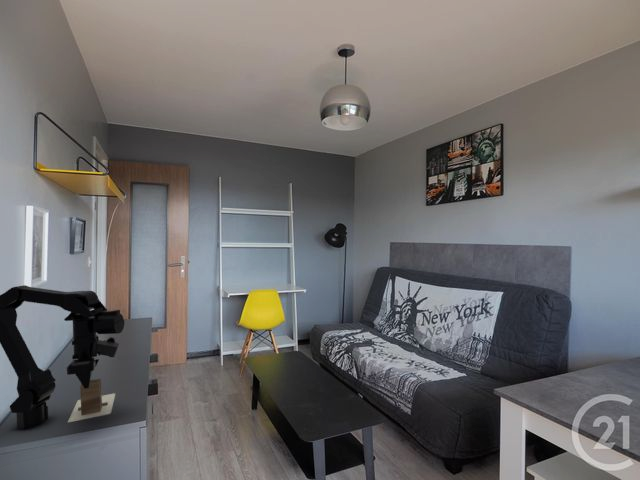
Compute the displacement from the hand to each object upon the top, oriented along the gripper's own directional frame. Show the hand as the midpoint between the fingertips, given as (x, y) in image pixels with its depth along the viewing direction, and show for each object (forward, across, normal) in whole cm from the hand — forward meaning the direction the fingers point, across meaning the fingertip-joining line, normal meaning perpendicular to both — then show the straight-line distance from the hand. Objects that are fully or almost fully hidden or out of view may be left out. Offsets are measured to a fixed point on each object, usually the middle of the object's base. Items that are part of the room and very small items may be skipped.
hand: (86, 387), depth 108 cm
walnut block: (+10, +7, 0) cm, 12 cm away
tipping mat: (+11, +11, 0) cm, 15 cm away
